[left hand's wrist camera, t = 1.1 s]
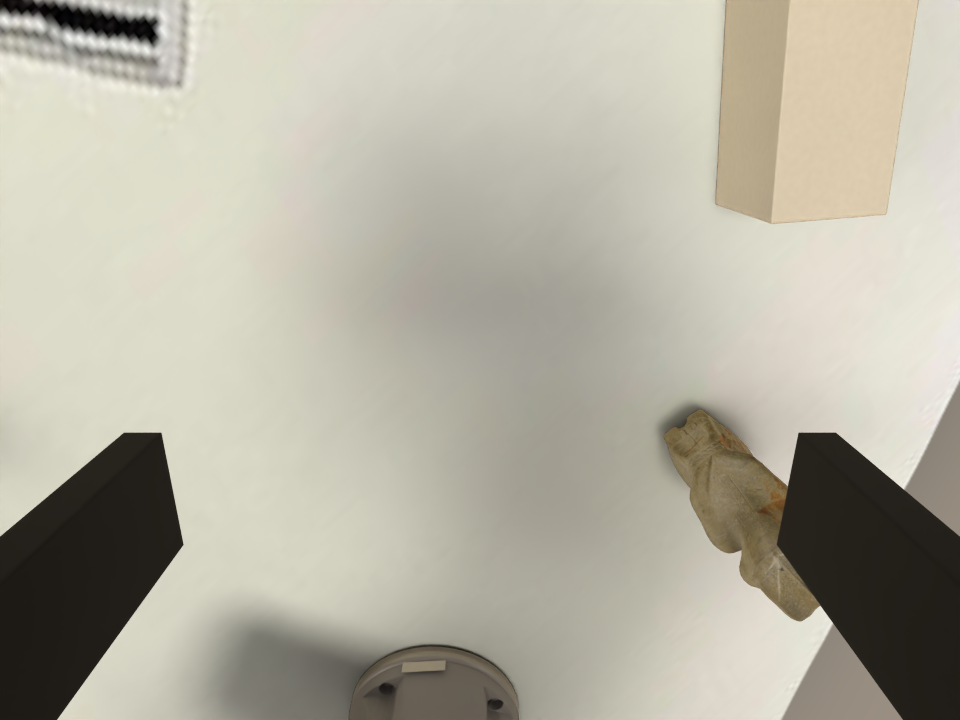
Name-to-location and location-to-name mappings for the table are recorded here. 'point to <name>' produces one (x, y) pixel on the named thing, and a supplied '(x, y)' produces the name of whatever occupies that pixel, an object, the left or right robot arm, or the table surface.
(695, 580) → the table surface
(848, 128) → the box
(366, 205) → the table surface
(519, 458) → the table surface
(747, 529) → the sculpture
